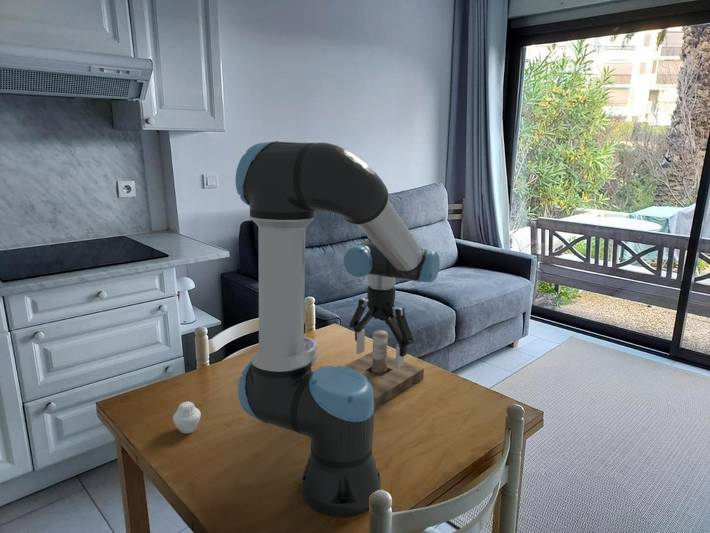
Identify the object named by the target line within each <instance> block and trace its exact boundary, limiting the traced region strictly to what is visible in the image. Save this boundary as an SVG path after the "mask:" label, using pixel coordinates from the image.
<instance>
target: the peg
mask: <svg viewBox="0 0 710 533" xmlns="http://www.w3.org/2000/svg"><path fill="white" fill-rule="evenodd" d="M388 335H389V334H388V332H387V331H385V330H375V331H373V332H372V352H373V357H372V373H374V374H376V375H379V376H383V375H384V374H386V371H387V356H388V337H389V336H388Z"/></svg>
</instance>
